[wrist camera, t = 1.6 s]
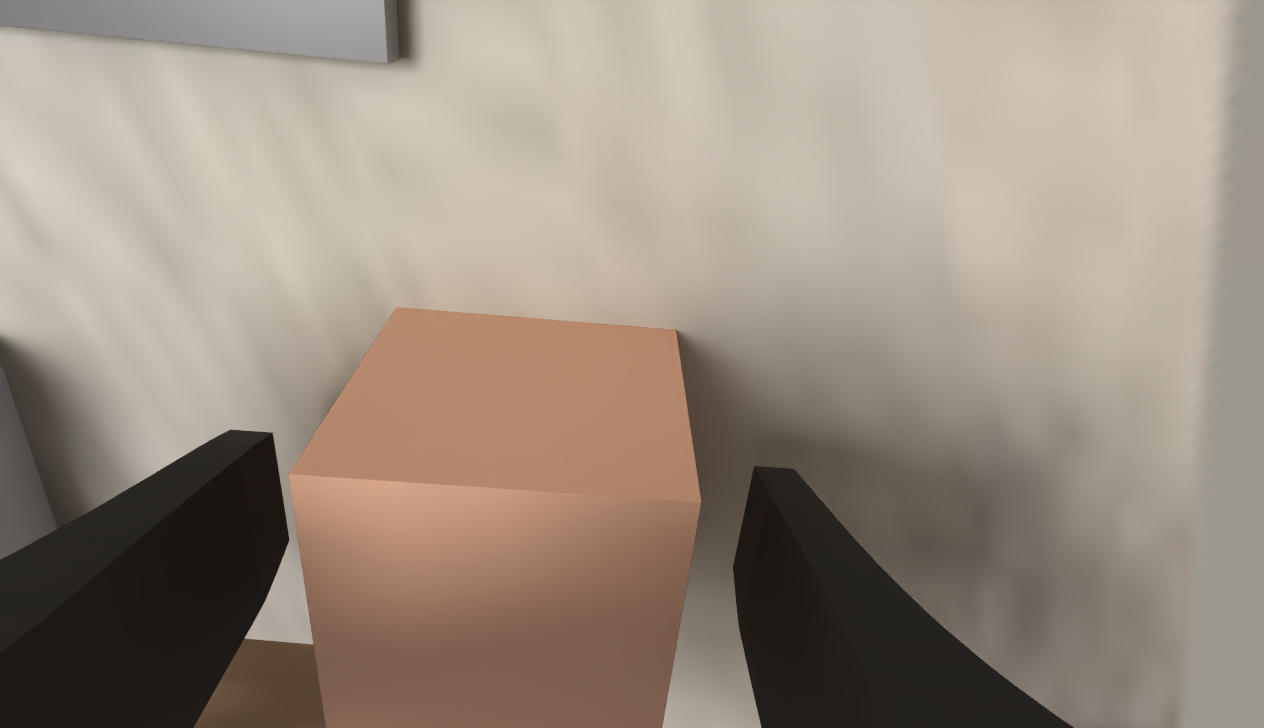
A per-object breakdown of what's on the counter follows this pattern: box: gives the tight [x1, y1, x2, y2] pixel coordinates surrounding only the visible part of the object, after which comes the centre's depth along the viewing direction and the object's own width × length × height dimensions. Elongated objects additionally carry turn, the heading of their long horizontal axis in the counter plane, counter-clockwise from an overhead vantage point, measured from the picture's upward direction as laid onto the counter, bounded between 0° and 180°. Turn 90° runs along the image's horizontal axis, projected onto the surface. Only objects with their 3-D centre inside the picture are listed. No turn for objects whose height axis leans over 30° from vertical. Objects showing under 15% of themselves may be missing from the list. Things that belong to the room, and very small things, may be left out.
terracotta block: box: [288, 307, 701, 728], centre depth 11 cm, size 4×4×4 cm
